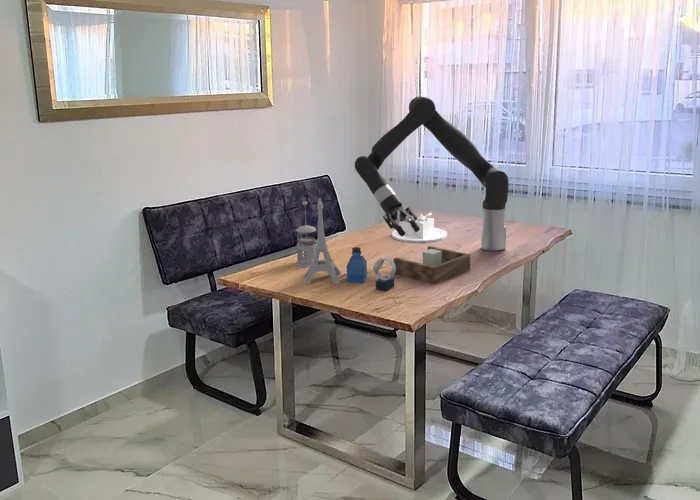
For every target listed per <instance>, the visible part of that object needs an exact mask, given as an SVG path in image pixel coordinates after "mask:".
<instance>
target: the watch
mask: <svg viewBox="0 0 700 500" xmlns="http://www.w3.org/2000/svg"><path fill="white" fill-rule="evenodd" d="M385 261H387V262H388V263H389V264H390V265H391V271H390V274H389V276H383V275H381V273H380V272H379V270H380V269H381V268H382V267H383V265H384V263H385ZM372 269H373V272H374V275H375V277H376V278H378V279H377V280H375V290H377V291H383V292H388V291H390V290H391V289H393V288H395V278H394V276H395V275H396V274H395V272H396V266H395V263H394V259H392V258H391V257H387V256H384V257H383V256H382V257H380V258H378V259H377V260H376V261H375V263H374V264H373V266H372Z"/></svg>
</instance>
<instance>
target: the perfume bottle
mask: <svg viewBox="0 0 700 500" xmlns="http://www.w3.org/2000/svg"><path fill="white" fill-rule="evenodd" d="M351 249H352V251H351V257H350V258H349V260H348V263H347V265H346V282H347V283H351V284H353V283H356V284H364V283H366V280H367V278H368V265H367V263H368V262H367V260H366V258H365V256H364V255H362V250H361V249H362V248H361V247H359V246H354V247H352V248H351Z"/></svg>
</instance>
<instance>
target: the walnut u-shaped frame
mask: <svg viewBox="0 0 700 500" xmlns="http://www.w3.org/2000/svg"><path fill="white" fill-rule="evenodd" d="M429 249H434V250H439V251H442V263H441V264H439V265H436V266H430V265H426V264H423V262H422V263H421V262H418V261H412V260H408V259H405V258H400V257H393V261H394V263H395V266H396V272H395V274H394V275H397V276H402V277H404V278H409V279H413V280H417V281H419V282H423V283H428V284H432V285H436V284H439V283H441V282H444V281H446V280H448V279H449V280H450V279H451V278H454V277H455V276H459V275H460V274H462V273H463V274H464V273H466V272H468V271H470V270H471V254H470V253H465V252H460V251H456V250H451V249H446V248H443V247H442V248H441V247H436V246H432V245H428V246H427V250H429ZM467 270H468V271H467ZM465 271H466V272H465ZM458 274H459V275H458Z"/></svg>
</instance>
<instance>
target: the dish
mask: <svg viewBox="0 0 700 500" xmlns="http://www.w3.org/2000/svg"><path fill="white" fill-rule="evenodd" d="M431 216H432V212H428V214H426V215H423V214H422V213H421V214H420V215H419V216H418V215H417V219H416V220H415V222H416V223H417V225H418V226H419V228H420V230H419V231H418V232H415V231H414V229H413V228H412V226H411V224H409V223H408V222H404V221H400V226H401V227H402V228H403V230H404V231H405V235H404V236H400V235H399V233H398V232H397V230H396V229H394V230H393V231H392V233H391V237H392V238H393V239H395V240H397V241H401V242H405V243H413V244H414V243H416V244H417V243H418V244H419V243H422V244H423V243H436V242H439V241H442V240H444V239H446V238H447V237H448V232H447V231H446V230H444V229H441V228H438V227H435V218H431ZM429 217H430V218H429ZM409 220H410V219H409ZM410 221H411V220H410Z"/></svg>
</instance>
